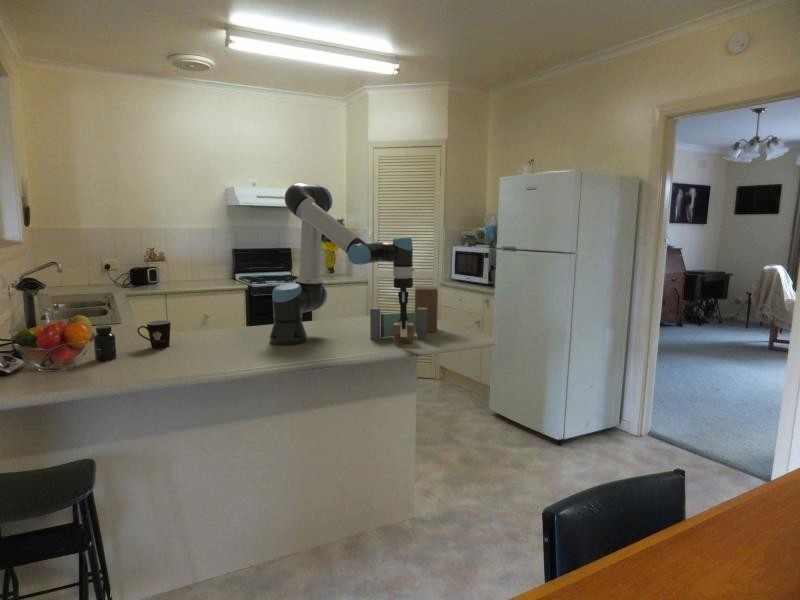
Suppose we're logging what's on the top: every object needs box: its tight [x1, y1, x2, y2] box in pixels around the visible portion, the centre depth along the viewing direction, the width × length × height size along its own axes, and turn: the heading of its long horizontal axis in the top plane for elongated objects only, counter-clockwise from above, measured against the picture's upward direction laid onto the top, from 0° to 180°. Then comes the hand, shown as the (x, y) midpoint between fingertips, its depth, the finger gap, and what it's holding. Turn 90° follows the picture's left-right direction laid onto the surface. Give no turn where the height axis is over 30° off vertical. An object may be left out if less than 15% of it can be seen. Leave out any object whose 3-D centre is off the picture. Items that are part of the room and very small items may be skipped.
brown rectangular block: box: [393, 323, 414, 345], centre depth 211 cm, size 8×5×8 cm, turn 89°
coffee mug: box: [137, 319, 172, 350], centre depth 203 cm, size 12×9×10 cm
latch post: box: [416, 308, 428, 340], centre depth 218 cm, size 4×4×13 cm
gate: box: [380, 311, 416, 338], centre depth 221 cm, size 15×1×10 cm, turn 109°
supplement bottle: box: [93, 325, 117, 362], centre depth 186 cm, size 7×7×12 cm
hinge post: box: [369, 306, 381, 340], centre depth 218 cm, size 4×4×13 cm
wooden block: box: [414, 285, 439, 334], centre depth 232 cm, size 10×10×20 cm
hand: (403, 336), depth 203 cm, fingers closed
